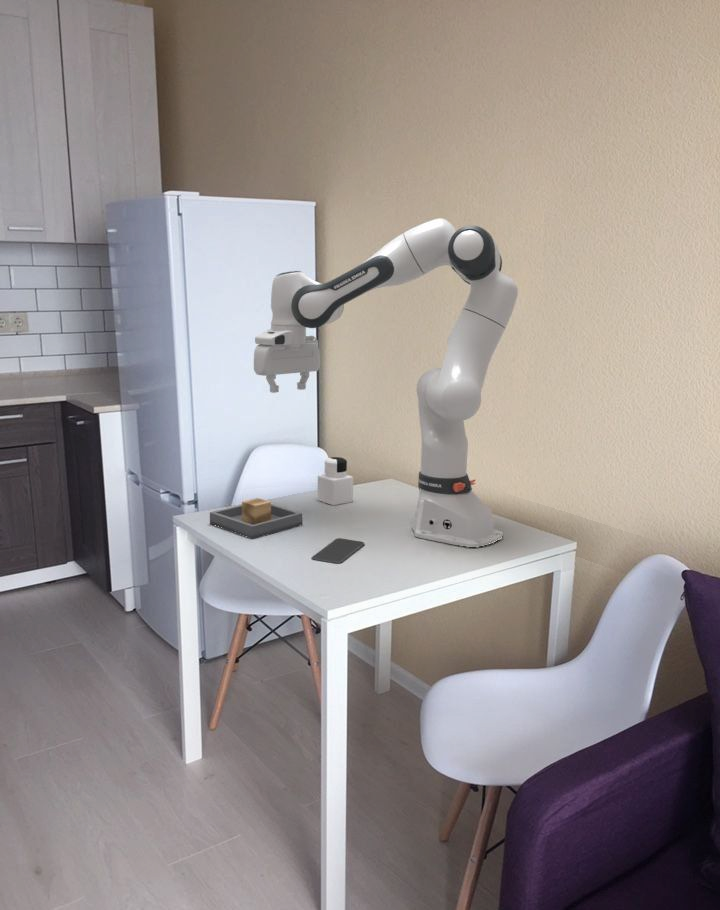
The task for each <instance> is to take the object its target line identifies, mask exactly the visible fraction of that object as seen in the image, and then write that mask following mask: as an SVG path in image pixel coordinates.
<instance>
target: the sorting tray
mask: <svg viewBox="0 0 720 910" xmlns="http://www.w3.org/2000/svg"><path fill="white" fill-rule="evenodd" d="M211 524H213V525H212V526H214V525H216V526H215V527H217V526H219V527H222V528H224V529H223V530H225V529H227V530H226V531H228V530H230V531H229V532H231V531H233V532H232V533H234V532H236V533H235V534H237V533H238V534H237V535H240V534H241V535H240V536H242V535H244V536H243V537H245V536H247V537H246V538H248V537H250V538H249V539H251V538H252V540H254V539H258V538H261V537H264V536H263V535H265V536H267V534H269V535H271V533H272V534H276V533H279V532H282V531H286V530H289V529H293V527H294V528H297V527H300V525H301V526H303V512H299V511H296V510H292V509H289V508H286V507H282V506H279V505H275V504H272V503H271V520H269V521H265V522H262V523H258V524H254V525H252V524H249V523H246V522H243V521H242V504H239V505H235V506H231V507H227V508H223V509H219V510H214V511H211V512H209V525H211ZM219 527H218V528H219ZM222 528H221V529H222ZM275 532H276V533H275ZM260 536H261V537H260ZM257 537H258V538H257ZM253 538H254V539H253Z"/></svg>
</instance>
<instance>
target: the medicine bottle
mask: <svg viewBox="0 0 720 910" xmlns="http://www.w3.org/2000/svg"><path fill="white" fill-rule="evenodd" d="M347 471H348V461H347V459H345V458H343V457H341V456H332V457H328V458H326V459H325V460H324V473H322V474H318V475H317V501H319V502H322V503H325V504H328V505H330V506H337V505H343V504H348V503H352V502H354V476H352V475H349V474H347Z"/></svg>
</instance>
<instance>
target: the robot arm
mask: <svg viewBox="0 0 720 910" xmlns="http://www.w3.org/2000/svg"><path fill="white" fill-rule="evenodd" d="M442 266H448V267H451V269H452V270H453V271H454V272H455V273H456V274H457V275H458V276H459V277H460V279H462V281H463V282H465V283H467V284H468V285H470V290H469V294H468V296H467V299H466V301H465V302H464V303H465V304H464V305H463V307H462V309H461V311H460V313H459V315H458V318H457V320H456V322H455V324H454V326H453V328H452V330H451V332H450V334H449V337H448V338H447V341H446V342H447V346H446V351H445V355H444V359H443V361H442V362H443V363H442V365H441V367H436V368H432V369H429V370H427V371H425V372H424V373H423V374H422V375H421V376H420V377H419V379H418V380H417V383H416V394H417V400H418V401H417V402H418V403H417V404H418V418H419V424H420V425H419V426H420V435H421V436H420V437H421V450H420V452H421V453H420V454H421V455H420V471H419V472H418V481H417V487H418V500H417V505H416V511H415V516H414V519H413V523H412V525H411V529H412V531H413V532H414V537H416V538H420V539H424V540H429V541H434V542H439V543H445V544H450V545H454V546H458V545H459V546H458V547H463V546H466V547H465V548H469V547H476V548H478V547H477V546H482V545H486V544H489V543H492V542H494V541H496V540H498V539H500V538H501V537H502V536H503V537H504V532H503V531H501V530H498V529H495V522H494V515H493V512H492V510H491V509H490V508H489V507H488V506H487V505H486V504H485V503H484V502H483V501H482V500H481V499H480V498H479V497H478V496H477V495H476V494H475V493H474V492H473V488H472V486H473V485H476V482H475V481H476V479H471V480H470V477H469V475H468V473H467V472H468V471H467V465H468V450H469V449H468V447H469V443H468V437H467V434H466V430H465V421H467V420H469V419H471V418H473V416H475V415H476V414H477V412H478V411H479V410H480V407H481V403H482V389H483V387H484V384H485V383H484V382H485V379H486V375H487V372H488V368H489V365H490V363H491V359H492V356H493V355H494V353H495V351H496V348H497V347H498V344H499V343H500V340H501V338H502V336H503V334H504V332H505V331H506V327H507V326H508V323H509V321H510V319H511V316H512V314H513V311H514V308H515V304H516V303H517V302H516V301H517V298H518V295H519V291H518V290H519V288H518V286H517V284H516V283H515V281H514V280H513V279H512V278H511V277H510V276H508V275H507V274H505V273H502V272H501V271H502V269H503V268H502V267H503V259H502V255H501V253H500V249H499V246H498V244H497V242H496V241H495V240H494V238H493V237H492V235H491V233H489V232H488V231H487V230H486V229H485V228H483V227H480V226H477V225H466V226H465V225H464V226H463V227H461V228H459V229H456V228H455V227H454V225H453V224H452V223H451V222H450V221H449V220H447V219H446V218H442V217H441V218H439V217H438V218H435V219H432V220H428V221H426V222H424V223H421V224H419V225H417V226H414V227H412V228H410V229H408V230H406V231H405V232H404V233H403V232H402V233H401V234H399V235H397V236H396V237H394V238H393V239H392V240H390V241H389V242H388V243H386V244H385V245H384V246H382V247H381V248H380V249H379V250H377V251H376V252H375V253H373V255H371V256H370V257H369V258H368V259H366V260H364V261H363V262H362V263H361V264H359V265H357V266H356V267H353V268H351V270H348V271H347V272H345V273H343V274H341V275H339V276H336V277H335V278H333V279H331V280H329V281H327V282H325V283H321V282H318V281H316V280H314V279H313V278H311V277H309V276H307V274H306V273H304V272H303V271H301V270H294V271H293V270H292V271H285V272H281V273H278V274H276V275H275V276H274V278H273V280H272V285H271V294H270V295H271V298H270V309H271V312H272V319H271V322H270V323H271V324H270V328H269V329H268V330H267V329H266V331H263V332H261V333H259V334H256V335H255V338H254V341H255V342H254V343H255V344H256V347H255V348H254V352H253V370H254V373H255V374H256V375H257V376H266V377H265V379H266V381H267V383H268V385H269V392H270V393H273V394H275V393H276V394H277V393H279V390H280V385H279V384H278V385H277V383H276V381H275V380H276V378H277V375H289V374H297V373H299V376H300V379H299V382H296V385H297V387H296V388H297V390H300V391H301V390H306V388H307V387H306V386H307V381H308V380H309V377H310V373H311V372H313V373H314V372H319V370H320V367H321V354H320V348H319V340H318V339H317V338H316V337H315V336H314V335H309V336H308V335H307V333H306V332H307V328H308V329H317V328H320V327H322V326H325V325H329V324H333V323H334V322H335V321H337V320H338V319H339V318H340V317H341V316H342V314H343V312H344V310H345V309H344V308H345V305H346V304H347V303H349V302H351V301H352V300H354V299H357V298H358V297H361V296H362V295H364V294H366V293H367V292H369V291H370V292H371V291H372V290H376V289H380V288H384V287H391V286H399V285H403V284H405V283H406V284H407V283H410V282H411V281H414V280H416V279H419V278H421V277H423V276H425V275H426V274H428V273H429V272H431V271H433V270H435V269H437V268H439V267H442ZM498 535H499V536H498Z"/></svg>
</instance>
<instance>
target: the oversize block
mask: <svg viewBox="0 0 720 910" xmlns="http://www.w3.org/2000/svg"><path fill="white" fill-rule="evenodd" d="M271 504H272V502H271V501H269V500H265V499H262V498H258V497H257V498H252V499H247V500H243V501H241V505H242V521H243V522H246V523H249V524H252V525H254V524H258V523H262V522H265V521H269V520H271Z"/></svg>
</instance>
